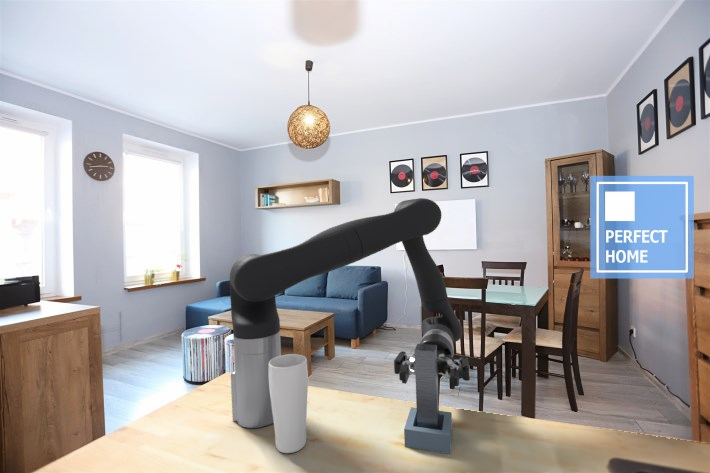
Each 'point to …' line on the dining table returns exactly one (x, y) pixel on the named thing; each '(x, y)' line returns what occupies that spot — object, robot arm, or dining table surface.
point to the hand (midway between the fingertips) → (427, 380)
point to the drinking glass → (289, 400)
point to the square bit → (427, 386)
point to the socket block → (429, 433)
